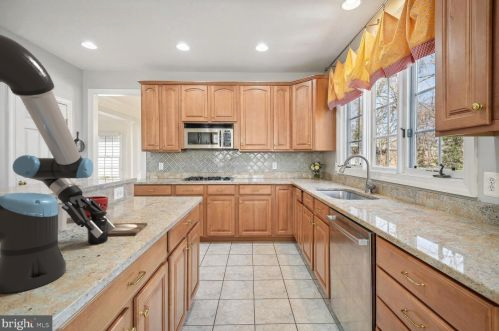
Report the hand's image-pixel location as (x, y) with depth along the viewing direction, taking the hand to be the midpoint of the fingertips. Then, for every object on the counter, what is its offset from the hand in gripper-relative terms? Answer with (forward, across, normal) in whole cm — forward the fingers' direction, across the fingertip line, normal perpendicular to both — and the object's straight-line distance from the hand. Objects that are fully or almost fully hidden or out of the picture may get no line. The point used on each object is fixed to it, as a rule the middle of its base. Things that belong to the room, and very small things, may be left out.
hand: (106, 232), depth 95 cm
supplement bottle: (+1, 0, -6) cm, 6 cm away
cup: (-21, -14, -27) cm, 37 cm away
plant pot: (-19, -35, -25) cm, 47 cm away
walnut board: (+1, -16, -4) cm, 16 cm away
